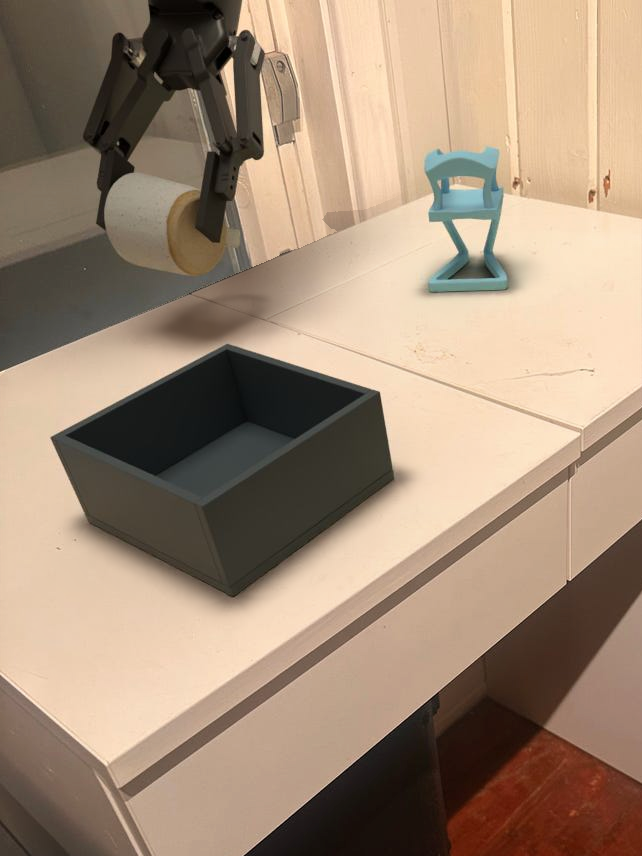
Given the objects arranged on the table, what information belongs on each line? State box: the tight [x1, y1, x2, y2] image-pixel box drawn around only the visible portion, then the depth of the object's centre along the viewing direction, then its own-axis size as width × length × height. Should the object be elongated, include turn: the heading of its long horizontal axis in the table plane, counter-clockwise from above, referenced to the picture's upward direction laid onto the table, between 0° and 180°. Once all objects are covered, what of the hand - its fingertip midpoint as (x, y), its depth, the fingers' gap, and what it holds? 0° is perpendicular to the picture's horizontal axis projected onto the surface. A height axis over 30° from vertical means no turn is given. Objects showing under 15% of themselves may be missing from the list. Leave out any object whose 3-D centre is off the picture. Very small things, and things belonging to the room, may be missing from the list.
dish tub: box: [50, 343, 395, 597], centre depth 62 cm, size 15×15×7 cm
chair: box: [423, 145, 509, 293], centre depth 87 cm, size 8×8×12 cm
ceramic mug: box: [104, 171, 241, 276], centre depth 81 cm, size 11×8×8 cm
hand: (157, 233), depth 79 cm, fingers closed on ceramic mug, 9 cm apart
